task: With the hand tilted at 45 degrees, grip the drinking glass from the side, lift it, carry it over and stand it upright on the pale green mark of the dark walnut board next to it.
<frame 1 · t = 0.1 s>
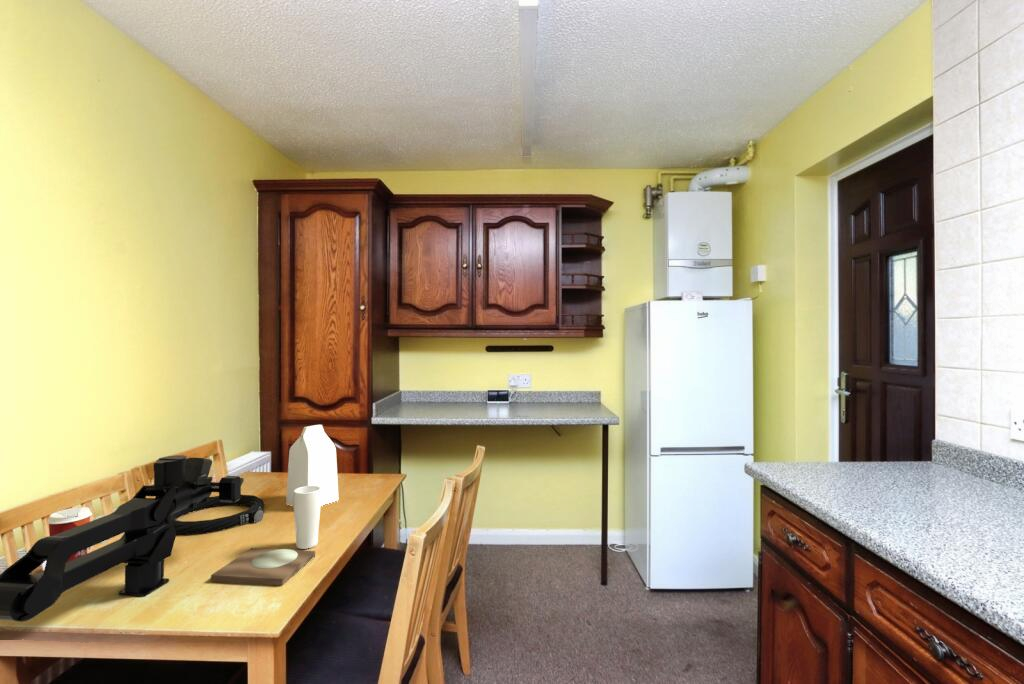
hand: (227, 479, 127), 17 cm above the table, tool horizontal, fingers open, 9 cm apart
paper cup: (69, 572, 109), on the table
drinking glass: (307, 546, 123), on the table
walnut board: (265, 568, 110), on the table
cable lock: (217, 519, 142), on the table
milk: (312, 503, 156), on the table
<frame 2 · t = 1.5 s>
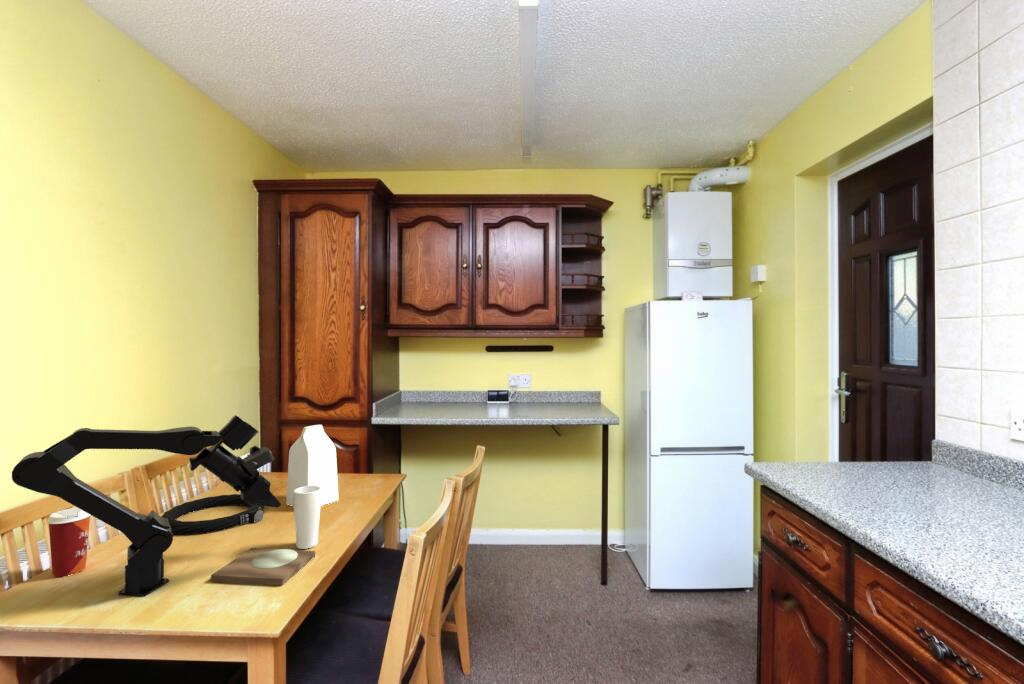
hand: (275, 501, 118), 13 cm above the table, tool tilted 45°, fingers open, 9 cm apart
nothing on the table moved.
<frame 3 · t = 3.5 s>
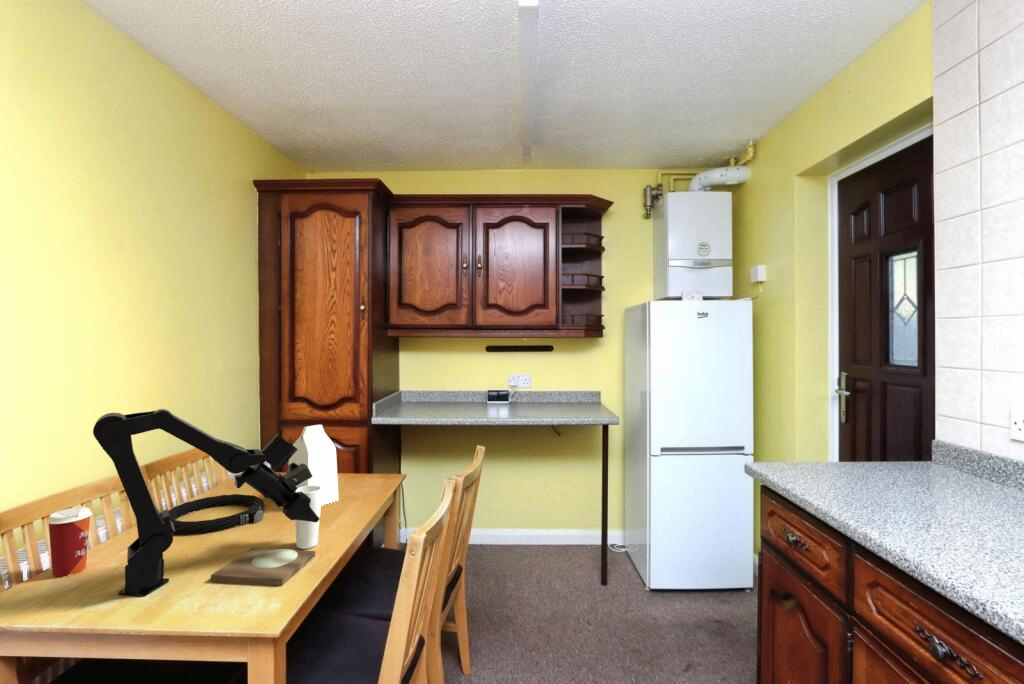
hand: (312, 515, 124), 8 cm above the table, tool tilted 45°, fingers open, 9 cm apart
drinking glass: (307, 546, 123), on the table, touching gripper
everything else where it was.
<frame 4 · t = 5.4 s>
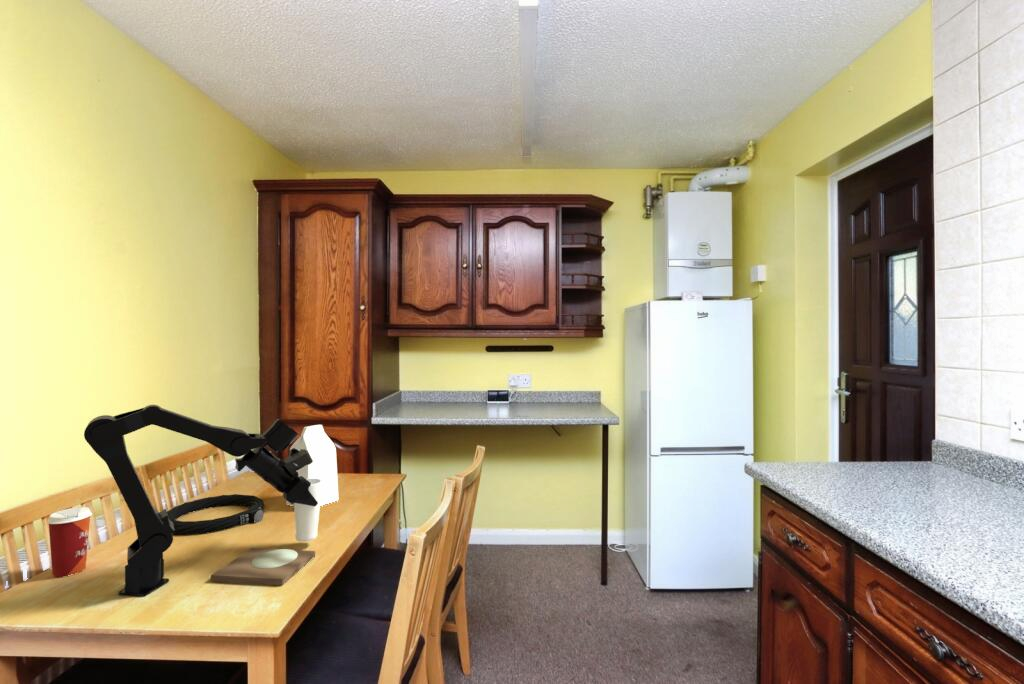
hand: (312, 501, 124), 12 cm above the table, tool tilted 45°, fingers closed on drinking glass, 6 cm apart
drinking glass: (306, 539, 123), point 2 cm above the table, touching gripper
everything else where it was.
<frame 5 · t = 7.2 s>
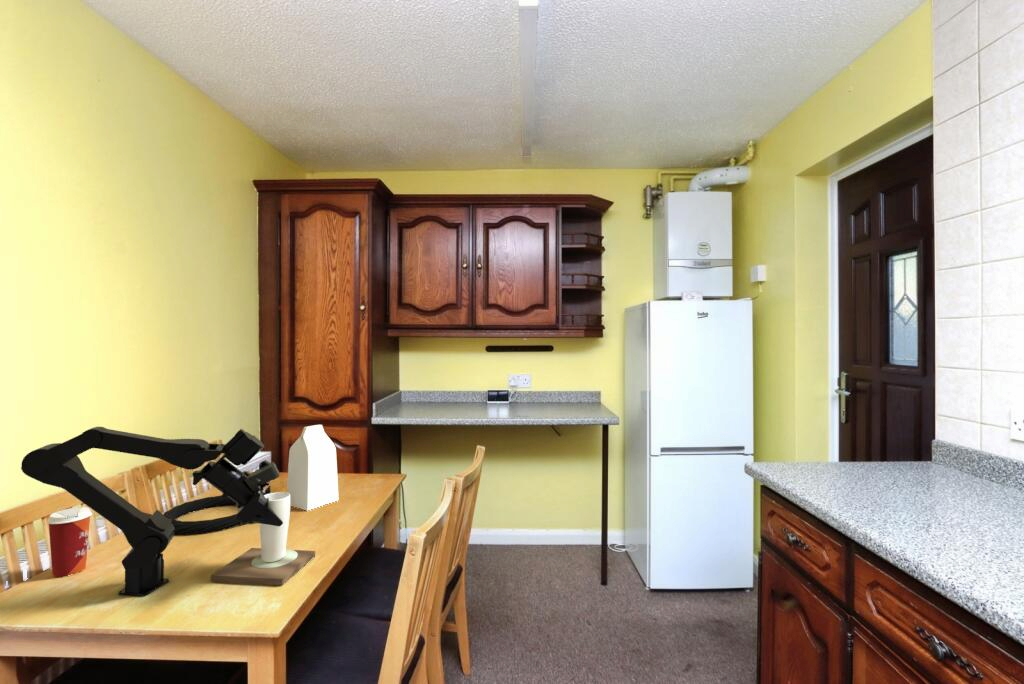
hand: (282, 519, 113), 11 cm above the table, tool tilted 45°, fingers closed on drinking glass, 6 cm apart
drinking glass: (273, 559, 112), point 1 cm above the table, touching gripper, walnut board
everything else where it was.
when the fingers open (11 cm above the table, at t = 8.0 s): drinking glass stays where it is, resting on walnut board.
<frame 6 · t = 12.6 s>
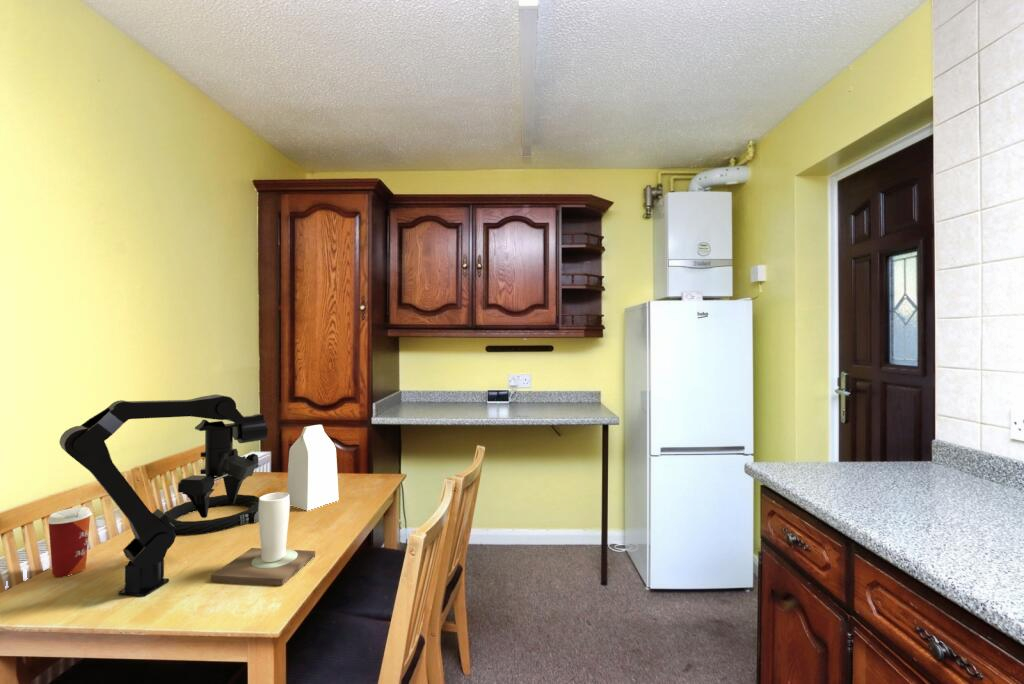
hand: (218, 510, 113), 13 cm above the table, tool pointing down, fingers open, 9 cm apart
drinking glass: (273, 559, 112), point 1 cm above the table, touching walnut board
everything else where it was.
at the end: drinking glass inside the target area on the walnut board (0.4 cm from its centre), point 1.4 cm above the walnut board's base; drinking glass tilted 0°; the gripper is holding nothing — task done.
